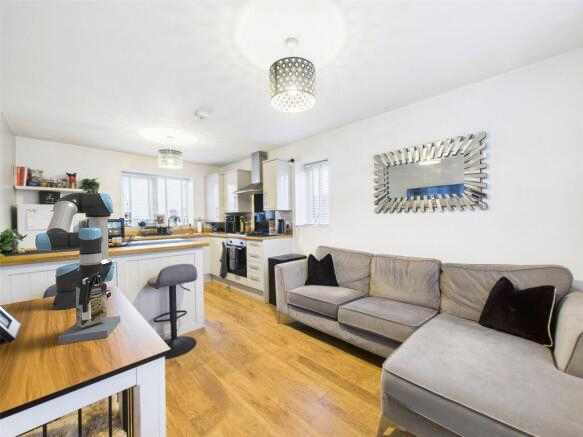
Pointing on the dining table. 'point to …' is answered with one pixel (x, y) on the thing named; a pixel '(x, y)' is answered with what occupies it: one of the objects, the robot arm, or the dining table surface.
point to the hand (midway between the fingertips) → (92, 314)
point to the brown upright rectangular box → (93, 305)
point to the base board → (89, 331)
